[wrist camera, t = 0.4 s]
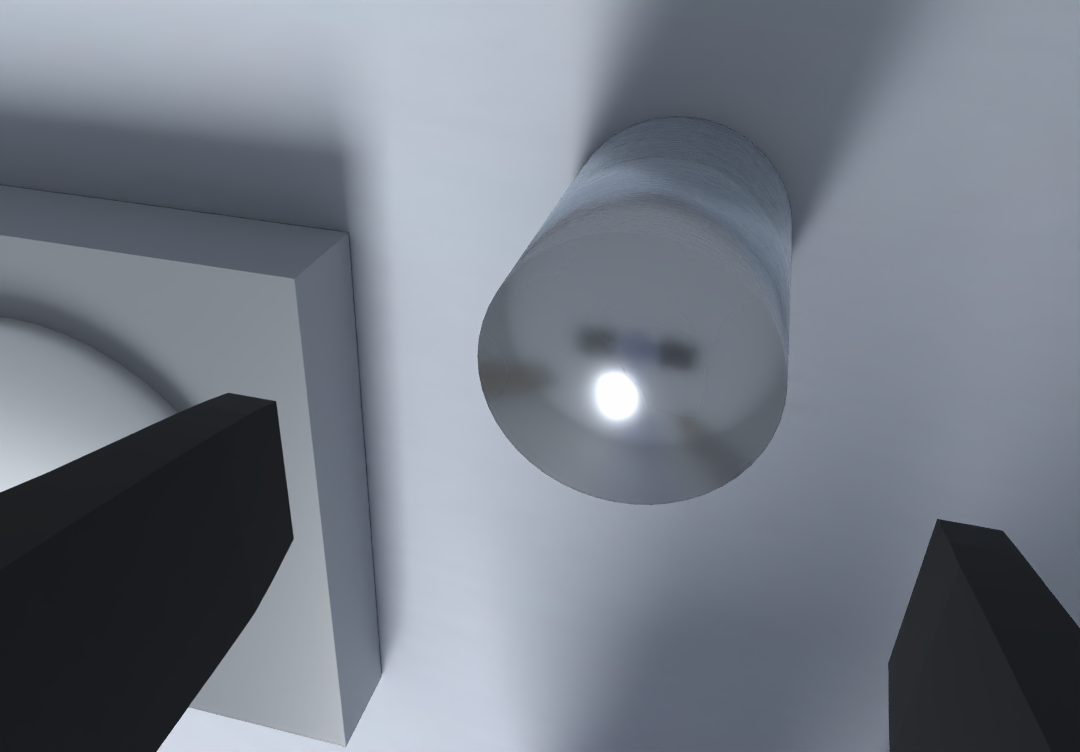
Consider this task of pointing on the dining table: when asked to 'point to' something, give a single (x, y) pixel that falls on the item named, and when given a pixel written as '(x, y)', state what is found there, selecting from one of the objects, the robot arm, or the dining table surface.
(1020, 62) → the dining table surface
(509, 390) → the cylinder
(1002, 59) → the dining table surface
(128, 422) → the kitchen scale
